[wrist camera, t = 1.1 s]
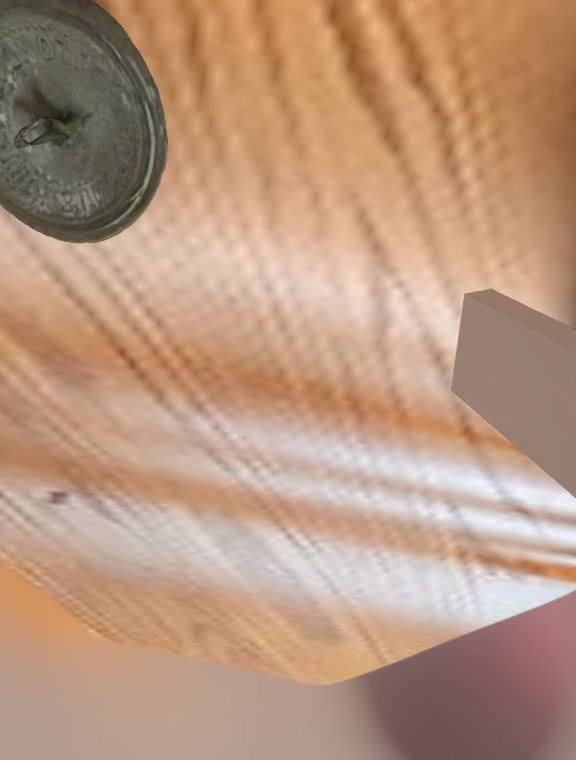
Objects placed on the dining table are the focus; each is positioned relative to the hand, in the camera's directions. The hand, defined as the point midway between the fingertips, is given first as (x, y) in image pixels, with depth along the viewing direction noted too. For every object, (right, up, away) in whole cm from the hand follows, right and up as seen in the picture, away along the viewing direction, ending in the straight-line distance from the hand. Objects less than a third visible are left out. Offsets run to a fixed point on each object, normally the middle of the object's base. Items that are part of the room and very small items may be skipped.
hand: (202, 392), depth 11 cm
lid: (-9, +13, +13) cm, 21 cm away
